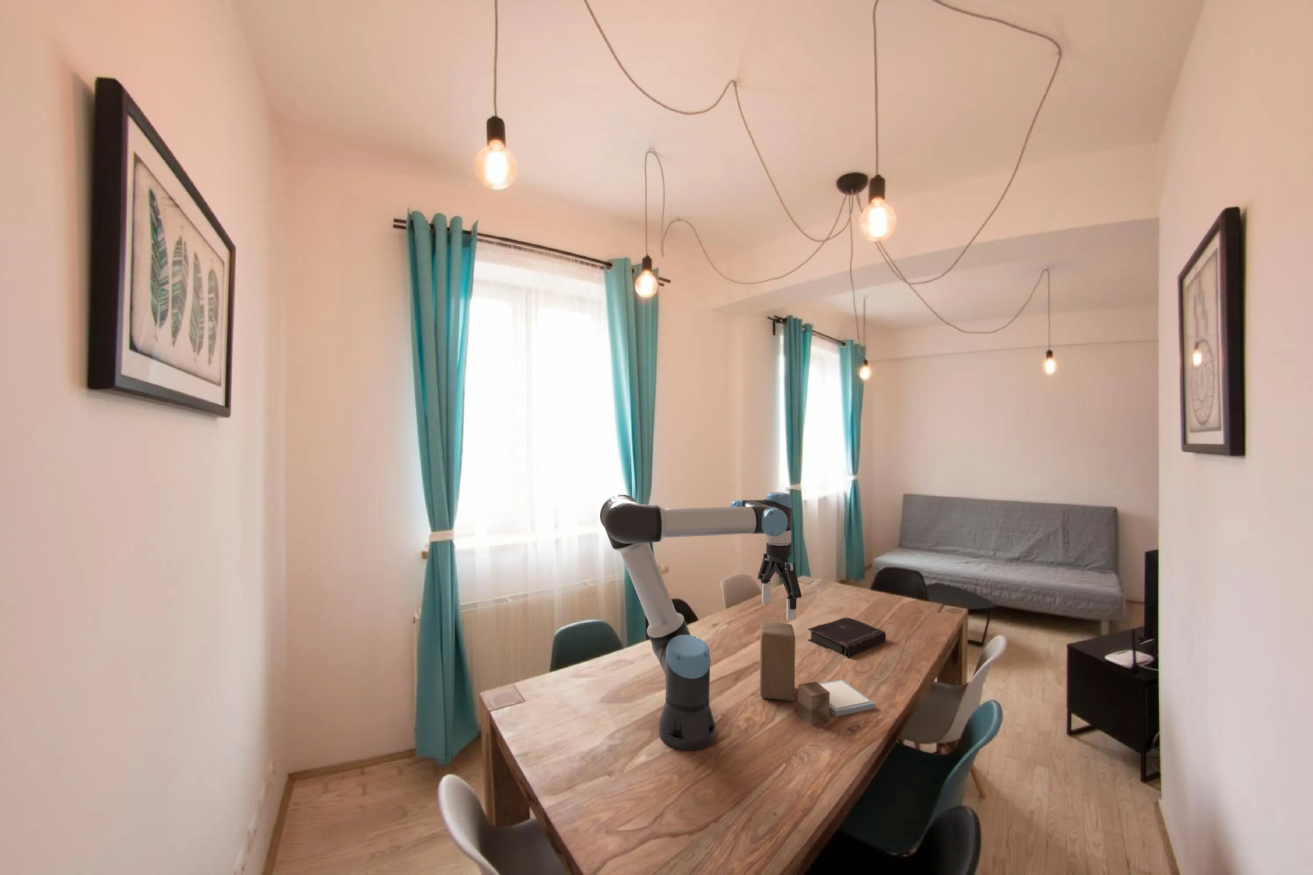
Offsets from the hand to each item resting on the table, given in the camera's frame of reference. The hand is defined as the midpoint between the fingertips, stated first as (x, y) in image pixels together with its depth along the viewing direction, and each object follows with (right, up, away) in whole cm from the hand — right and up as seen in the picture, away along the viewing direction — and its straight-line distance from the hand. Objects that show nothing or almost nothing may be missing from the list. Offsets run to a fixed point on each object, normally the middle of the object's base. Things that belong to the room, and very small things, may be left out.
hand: (778, 611), depth 143 cm
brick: (+7, -25, -12) cm, 29 cm away
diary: (+37, -26, +38) cm, 59 cm away
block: (-1, -25, 0) cm, 25 cm away
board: (+18, -25, -4) cm, 31 cm away
